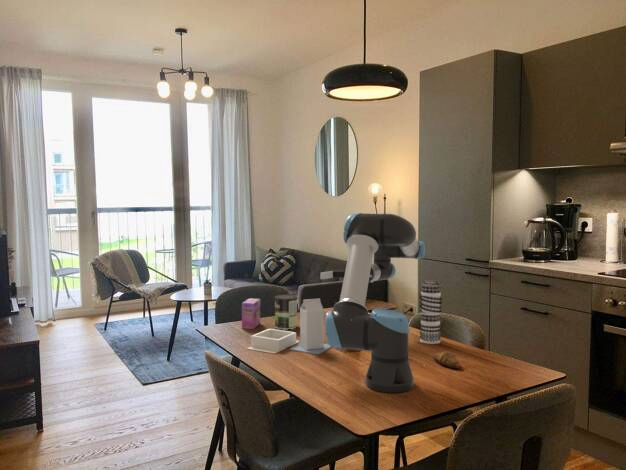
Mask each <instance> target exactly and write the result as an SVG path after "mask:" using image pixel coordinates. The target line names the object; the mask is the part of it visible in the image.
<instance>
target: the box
mask: <svg viewBox="0 0 626 470" xmlns="http://www.w3.org/2000/svg"><path fill="white" fill-rule="evenodd" d="M260 324H261V298H249V297H248V298H247V299H245V301H244V300H243V302H242V303H241V329H244V330H254V329H255V328H257V327H258V325H259V326H260Z"/></svg>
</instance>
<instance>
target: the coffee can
mask: <svg viewBox="0 0 626 470" xmlns="http://www.w3.org/2000/svg"><path fill="white" fill-rule="evenodd" d="M296 327H297V328H298V296H297V295H296V294H295V295H294V294H287V293H286V294H284V293H283V294H278V295H275V296H274V329H276V328H277V329H276V330H281V329H282V330H283V331H289V330H288V329H291V330H295V329H296ZM294 328H295V329H294Z"/></svg>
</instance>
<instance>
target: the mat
mask: <svg viewBox="0 0 626 470" xmlns="http://www.w3.org/2000/svg"><path fill="white" fill-rule="evenodd" d="M329 349H332V347H331V346H330V345H329V344H328V343H324V348H319V349H310V350H306V349H305V348H304V347H302V346H301V345H300V343H298V344H295V345H293V346H291V347H290V348H288V350H289V351H293V352H294V351H295V352H300V353H305V354H311V355H321V354H322V353H324V352H326V351H327V350H329Z"/></svg>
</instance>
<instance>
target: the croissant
mask: <svg viewBox="0 0 626 470" xmlns="http://www.w3.org/2000/svg"><path fill="white" fill-rule="evenodd" d="M432 358H433V360H434V361H435V362H437V363H438V364H439V365H441V366H445V367H448V368H451V369H453V368H454V369H453V370H459V369H461V364H460V361H459V360H458V359H457V357H456V355H455V353H453V352H450V351H447V350H445V351H442V352H437V353H434V354H433V357H432Z"/></svg>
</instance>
